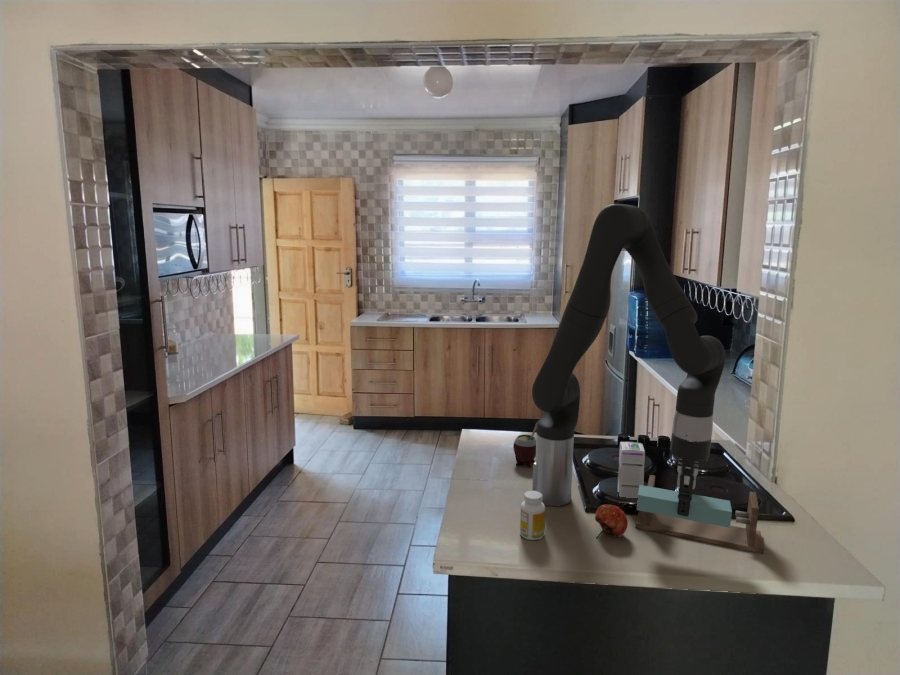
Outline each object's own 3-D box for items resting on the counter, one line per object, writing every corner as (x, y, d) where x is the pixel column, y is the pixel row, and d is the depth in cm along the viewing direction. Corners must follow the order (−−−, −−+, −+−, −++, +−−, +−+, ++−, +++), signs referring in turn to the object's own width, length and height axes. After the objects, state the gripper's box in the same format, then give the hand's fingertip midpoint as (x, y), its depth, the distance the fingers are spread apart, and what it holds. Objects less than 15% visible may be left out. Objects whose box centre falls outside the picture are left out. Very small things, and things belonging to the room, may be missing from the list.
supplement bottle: (546, 530, 130) (547, 491, 128) (541, 542, 125) (543, 501, 123) (522, 526, 132) (523, 487, 130) (517, 538, 127) (518, 498, 125)
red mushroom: (613, 555, 124) (644, 523, 126) (595, 533, 122) (626, 500, 124) (594, 541, 131) (624, 510, 133) (577, 520, 129) (607, 489, 131)
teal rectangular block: (636, 509, 121) (638, 494, 120) (638, 499, 126) (639, 484, 125) (729, 527, 115) (731, 512, 114) (727, 516, 119) (729, 500, 119)
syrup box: (642, 506, 141) (646, 451, 138) (617, 503, 142) (621, 449, 139) (639, 495, 147) (643, 442, 144) (616, 493, 148) (619, 440, 145)
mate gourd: (508, 461, 168) (509, 412, 165) (531, 456, 171) (532, 409, 168) (522, 470, 161) (523, 420, 158) (545, 466, 164) (547, 416, 162)
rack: (635, 527, 131) (638, 487, 129) (639, 511, 138) (641, 473, 136) (763, 553, 121) (768, 510, 119) (760, 535, 128) (764, 494, 126)
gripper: (673, 419, 124) (666, 490, 128) (670, 441, 112) (661, 520, 115) (711, 424, 121) (702, 497, 125) (711, 448, 109) (702, 529, 112)
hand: (683, 508), depth 120 cm, fingers closed on teal rectangular block, 5 cm apart
